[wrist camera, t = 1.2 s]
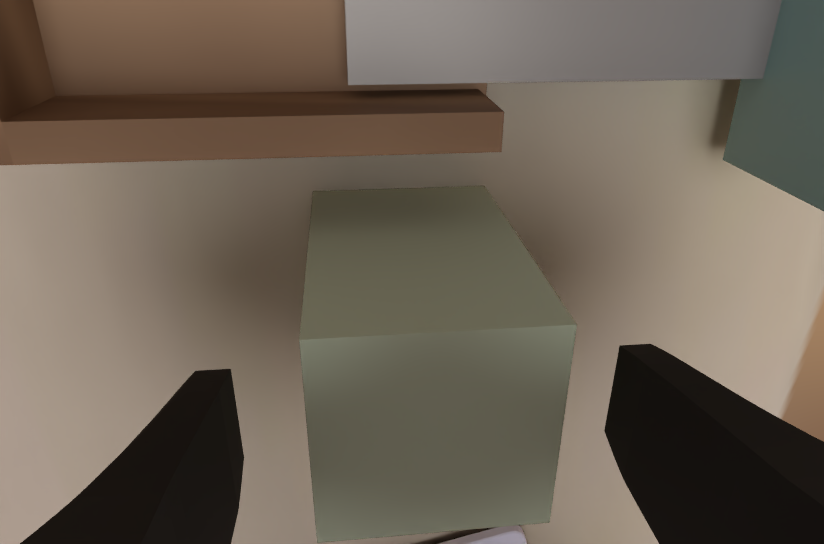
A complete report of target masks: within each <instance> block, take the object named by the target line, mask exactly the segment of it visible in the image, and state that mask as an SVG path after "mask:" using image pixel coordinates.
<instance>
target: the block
mask: <svg viewBox="0 0 824 544" xmlns="http://www.w3.org/2000/svg"><path fill="white" fill-rule="evenodd" d="M576 327H577V324H576V323H575V321H574V320H573V318H572V317H571V315H570V314H569V312H568V311H567V309H566V308H565V306H564V305H563V303H562V302H561V300H560V299H559V297H558V296H557V294H556V293H555V291H554V290H553V288H552V287H551V285H550V284H549V282H548V281H547V279H546V278H545V276H544V275H543V273H542V271H541V270H540V268H539V267H538V265H537V264H536V262H535V261H534V259H533V258H532V256H531V255H530V253H529V252H528V250H527V249H526V247H525V246H524V244H523V243H522V241H521V240H520V238H519V237H518V235H517V234H516V232H515V231H514V229H513V228H512V226H511V225H510V223H509V222H508V220H507V219H506V217H505V216H504V214H503V213H502V211H501V210H500V208H499V207H498V205H497V204H496V202H495V201H494V199H493V198H492V196H491V195H490V193H489V192H488V190H487V189H486V187H485V186H464V187H433V188H402V189H372V190H341V191H313V197H312V208H311V219H310V229H309V240H308V251H307V261H306V272H305V283H304V294H303V304H302V315H301V326H300V337H299V343H300V355H301V366H302V377H303V388H304V400H305V411H306V422H307V433H308V445H309V456H310V467H311V478H312V490H313V501H314V512H315V523H316V534H317V543H321V542H333V541H344V540H356V539H367V538H379V537H390V536H401V535H413V534H424V533H436V532H447V531H459V530H470V529H482V528H493V527H504V526H516V525H527V524H539V523H549V522H550V515H551V508H552V501H553V493H554V486H555V479H556V472H557V465H558V457H559V450H560V443H561V436H562V428H563V421H564V414H565V407H566V400H567V392H568V385H569V378H570V371H571V363H572V356H573V349H574V342H575V335H576Z"/></svg>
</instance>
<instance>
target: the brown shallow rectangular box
mask: <svg viewBox="0 0 824 544" xmlns="http://www.w3.org/2000/svg"><path fill="white" fill-rule="evenodd" d="M486 90H487V83H452V84H387V85H348V79H347V54H346V29H345V4H344V0H0V165H27V164H65V163H103V162H140V161H178V160H215V159H253V158H291V157H328V156H366V155H403V154H441V153H478V152H501V150H502V135H503V120H504V111H503V110H501V109H500V108H499V107H498V106H497V105H496V104H495V103H494V102H492V101H491V100H490V99H489V98H488V97H487V96H486Z"/></svg>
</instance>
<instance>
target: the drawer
mask: <svg viewBox="0 0 824 544" xmlns="http://www.w3.org/2000/svg"><path fill="white" fill-rule="evenodd" d="M344 4H345V29H346V54H347V79H348V85H387V84H452V83H517V82H582V81H647V80H713V79H741V82H740V86H739V91H738V95H737V99H736V104H735V108H734V113H733V117H732V122H731V126H730V130H729V135H728V139H727V144H726V148H725V152H724V157H723V160H724V161H726V162H728V163H730V164H732V165H734V166H736V167H738V168H740V169H742V170H744V171H746V172H748V173H750V174H752V175H754V176H756V177H758V178H760V179H761V180H763V181H765V182H767V183H769V184H771V185H773V186H775V187H777V188H779V189H781V190H783V191H785V192H787V193H789V194H791V195H793V196H795V197H797V198H799V199H801V200H803V201H805V202H807V203H809V204H811V205H813V206H814V207H816V208H818V209H820V210H822V211H824V0H344Z"/></svg>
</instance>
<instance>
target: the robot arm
mask: <svg viewBox="0 0 824 544" xmlns="http://www.w3.org/2000/svg"><path fill="white" fill-rule="evenodd" d="M605 433H606V436H607V439H608V441H609V444H610V447H611V450H612V452H613V455H614V457H615V460H616V462H617V465H618V467H619V470H620V472H621V474H622V477H623V479H624V481H625V483H626V485H627V487H628V488H629V490H630V492H631V494H632V496H633V498H634V499H635V501H636V503H637V505H638V507H639V508H640V510H641V512H642V514H643V516H644V517H645V519H646V521H647V523H648V524H649V526H650V528H651V530H652V532H653V533H654V535H655V537H656V539H657V540H658V542H659V544H824V442H823V441H821V440H819V439H817V438H815V437H813V436H811V435H809V434H807V433H806V432H804V431H802V430H800V429H798V428H796V427H794V426H793V425H791V424H789V423H787V422H785V421H783V420H781V419H779V418H778V417H776V416H774V415H772V414H770V413H769V412H767V411H765V410H763V409H762V408H760V407H758V406H756V405H755V404H753V403H751V402H749V401H748V400H746V399H744V398H743V397H741V396H739V395H738V394H736V393H734V392H732V391H731V390H729V389H727V388H726V387H724V386H722V385H721V384H719V383H718V382H716V381H714V380H713V379H711V378H709V377H708V376H706V375H704V374H703V373H701V372H699V371H698V370H696V369H694V368H693V367H691V366H689V365H688V364H686V363H684V362H683V361H681V360H679V359H678V358H676V357H674V356H673V355H671V354H669V353H667V352H665V351H664V350H662V349H660V348H658V347H656V346H654V345H652V344H640V345H623V346H620V347H619V353H618V358H617V364H616V370H615V375H614V381H613V386H612V392H611V397H610V403H609V409H608V414H607V420H606V425H605ZM243 461H244V455H243V448H242V441H241V435H240V428H239V421H238V415H237V408H236V401H235V395H234V388H233V381H232V375H231V369H220V370H204V371H195V372H194V373H193V374H192V375H191V376H190V377H189V378H188V379H187V381H186V382H185V383H184V384H183V385H182V386H181V387H180V389H179V390H178V391H177V392H176V393H175V394H174V395H173V397H172V398H171V399H170V400H169V401H168V402H167V404H166V405H165V406H164V407H163V408H162V409H161V410H160V412H159V413H158V414H157V415H156V416H155V417H154V418H153V419H152V421H151V422H150V423H149V424H148V425H147V426H146V427H145V428H144V429H143V430H142V431H141V433H140V434H139V435H138V436H137V437H136V438H135V439H134V440H133V441H132V442H131V443H130V444H129V446H128V447H127V448H126V449H125V450H124V451H123V452H122V453H121V454H120V455H119V456H118V457H117V458H116V459H115V460H114V461H113V462H112V463H111V464H110V465H109V466H108V467H107V468H106V469H105V470H104V471H103V472H102V473H101V474H100V475H99V476H98V477H97V478H96V479H95V480H94V481H93V482H92V483H90V484H89V485H88V486H87V487H86V488H85V489H84V490H83V491H82V492H81V493H80V494H79V495H78V496H77V497H76V498H74V499H73V500H72V501H71V502H70V503H69V504H68V505H66V506H65V507H64V508H63V509H62V510H61V511H60V512H58V513H57V514H56V515H55V516H53V517H52V518H51V519H50V520H49V521H47V522H46V523H45V524H44V525H43V526H41V527H40V528H39V529H38V530H37V531H35V532H34V533H33V534H32V535H30V536H29V537H28V538H27V539H25V540H24V541H23V542H21V543H20V544H231V540H232V536H233V532H234V527H235V523H236V518H237V514H238V509H239V500H240V491H241V482H242V471H243ZM438 544H527V542H526V538H525V535H524V532H523V530H522V528H521V527H520V526H518V525H516V526H504V527H496V528H492V529H489V530H485V531H481V532H478V533H474V534H471V535H467V536H463V537H460V538H456V539H453V540H449V541H446V542H442V543H438Z"/></svg>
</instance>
